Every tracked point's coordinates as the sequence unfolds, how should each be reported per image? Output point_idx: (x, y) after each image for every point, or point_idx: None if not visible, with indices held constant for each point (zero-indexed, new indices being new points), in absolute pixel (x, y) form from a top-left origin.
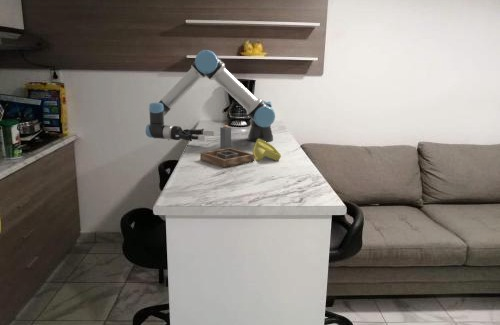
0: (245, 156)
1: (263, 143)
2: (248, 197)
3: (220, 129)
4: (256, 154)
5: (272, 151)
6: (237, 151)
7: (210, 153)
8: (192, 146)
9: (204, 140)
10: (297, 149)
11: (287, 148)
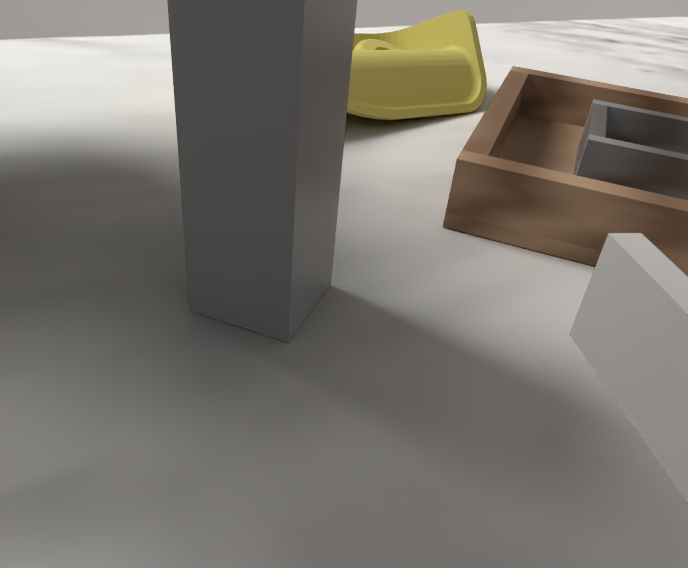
0: (598, 83)
1: None
2: None
3: (306, 8)
4: (397, 96)
5: None
6: (506, 122)
7: None
8: None
9: (570, 333)
10: (44, 38)
11: (21, 57)
